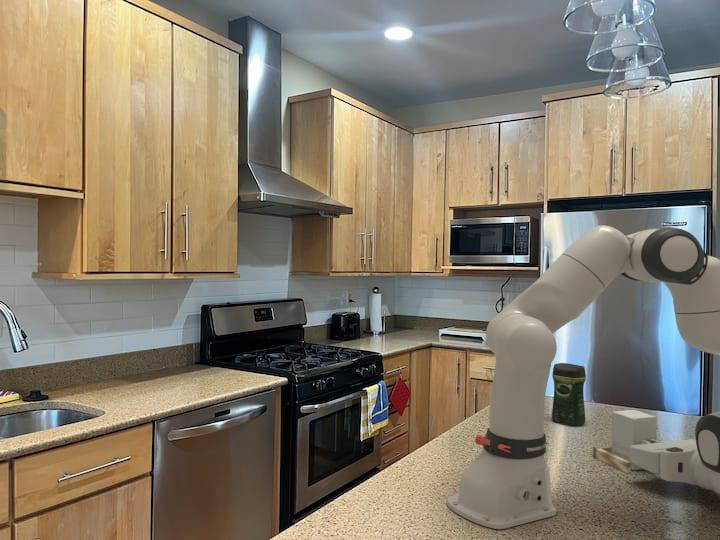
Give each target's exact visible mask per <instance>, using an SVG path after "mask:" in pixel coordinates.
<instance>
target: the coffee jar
mask: <svg viewBox="0 0 720 540" xmlns="http://www.w3.org/2000/svg"><path fill="white" fill-rule="evenodd" d="M586 375H587V374H586V369H585V366H584V365H580V364H572V363H567V362H566V363H565V362H558V363H555V364H553V368H552V380H553V401H552V408H551V420H552V421H553V422H556V423H558V424H563V425H565V426H580V427H581V426H583V425H584V424H585V423H586V411H585V408H586V407H585V397H584V387H585V382H586V380H587V379H586V378H587V376H586Z"/></svg>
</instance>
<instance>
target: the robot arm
mask: <svg viewBox="0 0 720 540" xmlns="http://www.w3.org/2000/svg"><path fill="white" fill-rule="evenodd" d="M620 275H621V276H623V277H625V278H627V279H628V280H629V279H630V280H632V281H638V282H641V281H642V282H647V283H652V284H653V283H658V284H659V283H663V284H664V285H665V286H666V288H667V289H668V291H669V292H670V295H671V297H672V302H673V303H672V304H673V305H672V306H673V309H674V317H675V322H676V326H677V327H676V328H677V331H678V333H679V336H680V337H681V339H682V340H683V341H684V342H685V343H686V344H688V346H690V347H692V348H693V349H696V350H698V351H699V352H700V351H701V352H704V353H707V354H711V355H716V356H719V357H720V258H717V257H714V256H712V255H708V254H707V253H706V252H705V250H703V247H702V245H701V243H700V242H699V240H698V239H697V238H696V236H694V235H693V234H692V233H691V232H689V231H687V230H686V229H682V228H679V227H672V226H671V227H670V226H668V227H667V226H666V227H662V228H648V229H644V230H641V231H637V232H632V233H628V234H626V235H625V234H624V233H623V232H621V231H620V230H618V228H615V227H613V226H609V225H604V224H601V225H597V226H594V227H592V228H591V229H589V230H587V232H585V233H584V234H582V235H581V236H580V237H578V239H576V240H575V241H574V242H572V243H571V245H569V246H568V247H567V248H566V249H565V250H564V251H563V253H561V254H560V255H559V257H557V259H556V260H555V261H554V262H553V263H552V264H551V265H549V267H548V268H547V269H546V270H545V271H544V272H543V273H542V275H541V276H539V278H538V279H537V280H536V281H534V282H533V283H532V284H531V285H530V286H529V287H527V288H525V290H524V291H523V292H521V293H520V294H519V295H518V296H516V297H515V298H514V299H513V300H512V301H511V302H510V303H509V304H507V305H506V306H505V307H504V308H503V309H502V310H501V311H500V312H499V313H497V315H495V316H494V317H493V318H492V319H491V320H490V321H489V322H488V324H487V327H486V332H485V339H486V343H487V346H488V348H489V349H490V351H491V352H492V353H493V354H494V355H495V367H494V374H493V379H492V385H491V388H490V392H489V417H488V419H489V420H488V421H489V422H488V424H489V425H488V426H489V427H488V428H487V430H486V433H485V435H482V434H479V433H478V434H476V436H475V437H474V443H475V444H476V445H480V446H481V447H482V450H481V451H480V452H479V454H478V455H477V456H476V457H475V459H474V460H472V462H471V463H470V465H469V466H467V468H466V469H465V471H464V472H463V473H462V474H461V477H460V480H459V485H458V486H459V488H458V492H455V493H454V494H453V495H451V496H449V497H448V498H447V499H446V505H447V507H448V508H449V509H450V510H451V511H453V512H454V513H456V514H457V515H459V516H460V517H462V518H464V519H467V520H469V521H471V522H472V523H475V524H478V525H481V526H483V527H487V528H491V529H496V530H504V529H509V528H512V527H516V526H519V525H524V524H528V523H532V522H534V521H535V522H536V521H539V520H542V519H547V518H551V517H554V516H556V515H557V508H556V507H555V506H554V504H553V502H552V500H553V499H552V489H551V488H552V487H551V485H552V484H551V474H550V469H549V467H548V464H547V462H546V458H545V454H546V453H547V442H548V441H547V435H546V433H545V406H546V405H545V401H546V392H547V386H548V382H549V377H550V372H551V367H552V363H553V361H554V360H555V357H556V355H557V351H558V349H557V348H558V346H557V340H556V338H555V336H554V334H555V333H556V332H557V331H559V330H560V329H561V328H562V327H564V326H566V325H567V324H568V323H570V322H572V321H574V320H576V319H577V318H579V317H580V316H581V315H582V314H583V313H584V311H586V309H588V307H589V306H590V305H592V303H593V302H594V301H595V300H596V299H597V298H598V297H599V296H600V295H601V294H602V292H604V290H606V289H607V287H608V286H609V285H610V284H611V283H612V282H613V280H615V279H616V278H617V277H619V276H620ZM695 425H696V426H695V430H694V436H695V438H694V439H693V438H690V439H682V440H681V439H680V440H672V441H671V440H670V441H661V440H657V439H656V440H653V439H648V440H641V444H640V445H631V446H630V460H631V462H632V463H634V464H635V465H637V466H639V467H641V468H643V469H642V470H645V471H648V472H650V473H652V474H654V475H655V474H656V475H660V479H661V480H664V481H666V482H670V483H671V482H672V483H673V482H674V483H685V484H690V485H693V486H694V485H695V486H697V487H700V488H702V489H704V490H710V491H713V492H715V493H716V495H717V494H718V495H719V496H720V410H719V411H716V412H712V413H709V414H706V415H703V416H701V417H700V418H699V419H698V421H697V422H696V424H695Z"/></svg>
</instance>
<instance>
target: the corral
mask: <svg viewBox="0 0 720 540" xmlns="http://www.w3.org/2000/svg"><path fill="white" fill-rule="evenodd" d="M592 457H593V458H594V459H596V460H599V461H601V462H603V463H605V464H607V465H609V466H610V467H613V468H615V469H618V470H619V471H621V472H623V473H625V474H630V473H631V472H632V471H631V470H632V469H631V462H629V461H627V460H625V459H622V458H620V457H618V456H616V455H614V454H612V444H611V445H603V446H594V447H593V449H592Z"/></svg>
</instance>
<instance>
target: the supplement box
mask: <svg viewBox="0 0 720 540" xmlns="http://www.w3.org/2000/svg"><path fill="white" fill-rule="evenodd" d="M648 439H653V440H656V441H657V416H655V415H651V414H650V413H649V414H648V413H645V412H642V411H639V410H637V409H627V410H617V411H616V410H615V411H612V412H611V445H612V454H614V455H616V456H618V457H620V458H622V459H625V460H627V461H629V462H631V460H630V446H631V445H640V444H641V440H648ZM631 470H632V471H637V470H638V471H639V470H644V469H643V468H641V467H639V466H637V465H635V464H634V463H632V462H631Z"/></svg>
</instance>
